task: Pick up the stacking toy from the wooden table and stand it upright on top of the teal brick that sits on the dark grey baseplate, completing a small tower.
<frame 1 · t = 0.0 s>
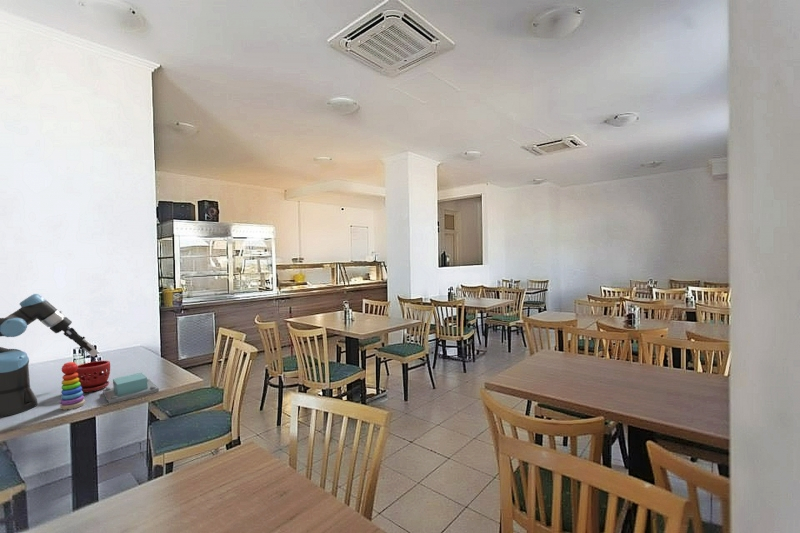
hand: (94, 352, 184), 15 cm above the table, tool tilted 35°, fingers open, 13 cm apart
stacking toy: (73, 407, 156), on the table
baseplate: (130, 392, 171), on the table
plant pot: (94, 389, 177), on the table
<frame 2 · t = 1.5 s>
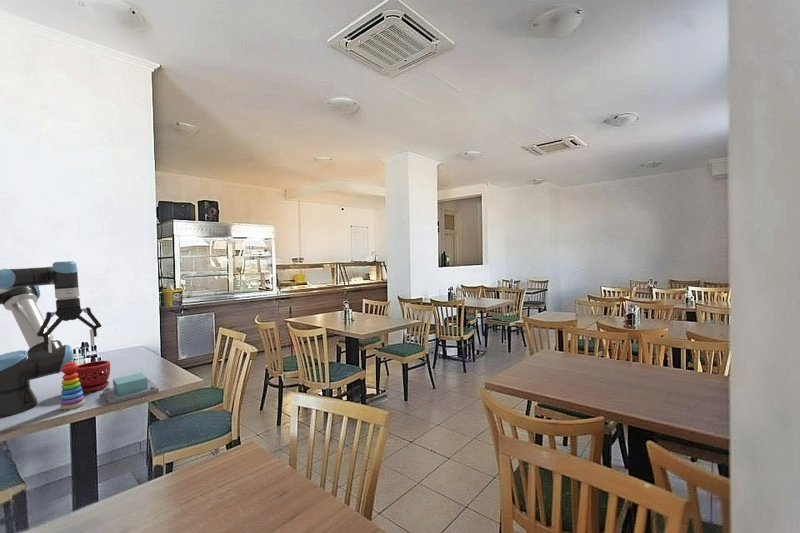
hand: (72, 348, 157), 24 cm above the table, tool pointing down, fingers open, 13 cm apart
nothing on the table moved.
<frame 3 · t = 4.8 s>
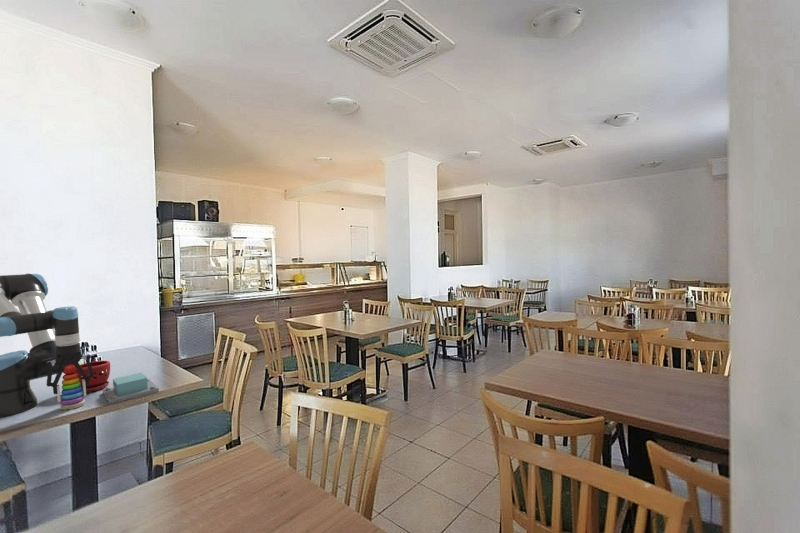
hand: (72, 398, 156), 4 cm above the table, tool pointing down, fingers closed on stacking toy, 7 cm apart
stacking toy: (73, 407, 156), on the table, touching gripper
everything else where it was.
when the fingers open (12 cm above the table, at t = 10.5 s): stacking toy drops 1 cm, resting on baseplate.
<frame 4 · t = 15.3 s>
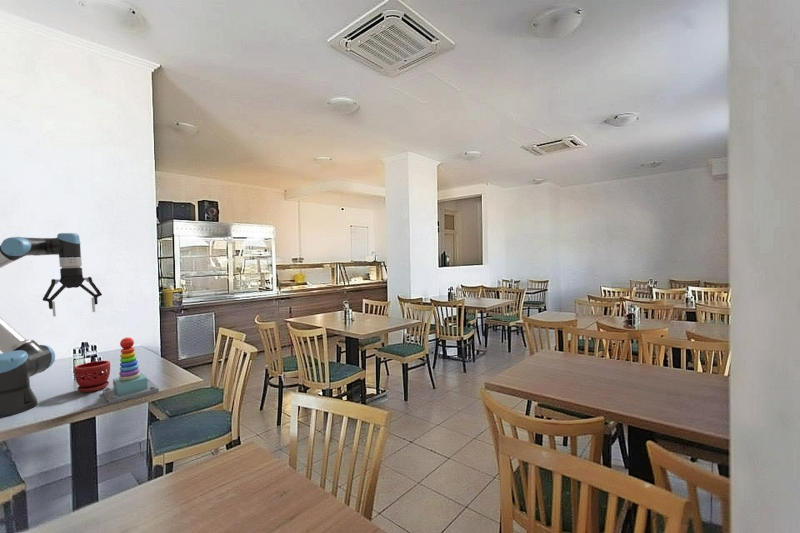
hand: (74, 313, 170), 37 cm above the table, tool pointing down, fingers open, 13 cm apart
stacking toy: (130, 378, 170), point 6 cm above the table, touching baseplate
everything else where it was.
at the end: stacking toy 0.1 cm off-centre on the baseplate, point 6.3 cm above the baseplate's base; stacking toy tilted 0°; the gripper is holding nothing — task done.
